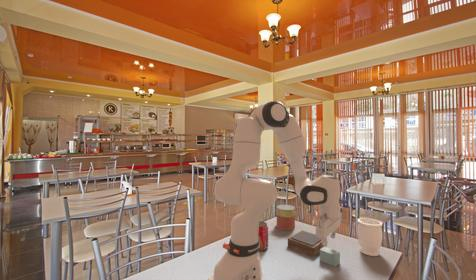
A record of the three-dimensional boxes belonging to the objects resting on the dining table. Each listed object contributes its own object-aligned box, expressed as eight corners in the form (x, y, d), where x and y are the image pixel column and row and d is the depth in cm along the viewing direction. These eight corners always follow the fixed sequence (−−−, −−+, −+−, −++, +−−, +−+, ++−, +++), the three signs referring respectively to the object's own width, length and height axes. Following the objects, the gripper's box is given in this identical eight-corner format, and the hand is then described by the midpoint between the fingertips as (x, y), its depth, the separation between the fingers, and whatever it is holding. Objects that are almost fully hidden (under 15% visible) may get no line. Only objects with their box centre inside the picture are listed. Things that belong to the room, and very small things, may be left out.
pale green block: (335, 267, 96) (335, 255, 96) (319, 260, 101) (319, 249, 101) (339, 263, 99) (339, 251, 99) (324, 257, 104) (324, 246, 104)
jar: (369, 245, 115) (370, 216, 115) (387, 256, 105) (388, 224, 105) (352, 248, 112) (352, 218, 112) (368, 259, 102) (369, 226, 102)
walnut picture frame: (313, 256, 105) (313, 246, 105) (287, 246, 114) (287, 237, 114) (326, 246, 114) (326, 237, 114) (301, 237, 124) (301, 229, 124)
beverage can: (251, 243, 117) (251, 220, 117) (266, 243, 117) (266, 220, 117) (253, 251, 109) (253, 227, 109) (269, 251, 110) (269, 226, 109)
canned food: (293, 223, 145) (293, 204, 145) (296, 230, 134) (296, 210, 134) (276, 222, 146) (276, 204, 146) (276, 229, 135) (277, 209, 135)
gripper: (326, 219, 91) (326, 253, 92) (344, 206, 106) (344, 235, 107) (312, 215, 96) (311, 247, 96) (330, 204, 110) (330, 231, 111)
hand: (328, 241), depth 102 cm, fingers open, 8 cm apart
